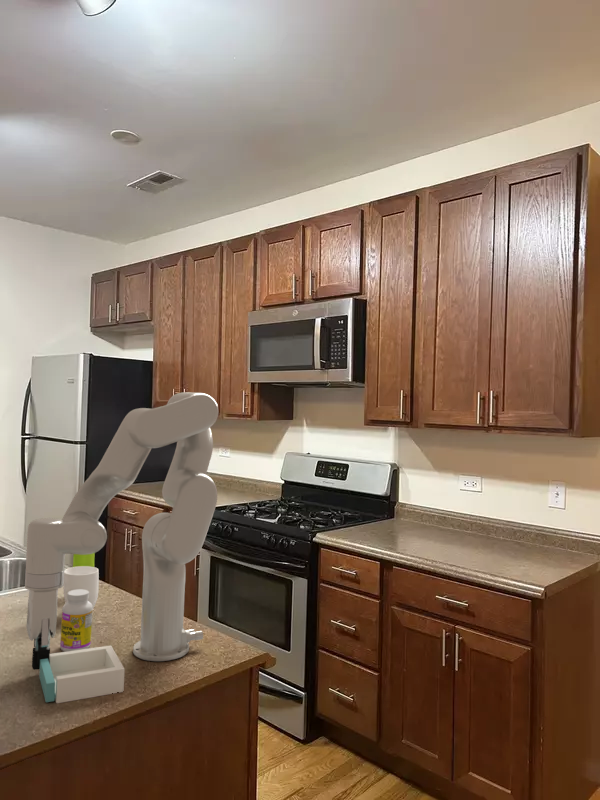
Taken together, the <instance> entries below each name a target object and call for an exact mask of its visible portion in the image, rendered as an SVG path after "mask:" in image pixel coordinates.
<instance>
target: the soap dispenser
mask: <svg viewBox="0 0 600 800" xmlns="http://www.w3.org/2000/svg"><path fill="white" fill-rule="evenodd" d="M95 554H96V552H95V553H93V554H87V555H80V554H72V555H73V556H72V559H73V560H72V567H78V566H90V567H95V559H96V558H95Z"/></svg>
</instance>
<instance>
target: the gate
mask: <svg viewBox="0 0 600 800" xmlns="http://www.w3.org/2000/svg"><path fill="white" fill-rule="evenodd" d="M38 674H39V675H38V676H39V681H40V686H41V689H42V692H43V696H44V701H45V703H49V702H54V701H55V680H54V677H53V674H52V670H51V667H50V664H49V660H48V659H41V660H40V669H39V673H38Z"/></svg>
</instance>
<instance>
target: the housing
mask: <svg viewBox="0 0 600 800" xmlns="http://www.w3.org/2000/svg"><path fill="white" fill-rule="evenodd" d="M49 664H50V667H51V670H52V674H53V677H54V680H55V697H54V701H55V703H56V704H60V703H66V702H72V701H77V700H84V699H90V698H95V697H101V696H106V695H113V694H118V693H117V692H119V693H124V692H123V691H124V689H125V667H124V665H123V663H122V661H121V660H120V658H119V655H117V653H116V652H115V650H114V648H113V646H112V645H111V644H110V645H104V646H99V647H98V646H96V647H89V648H88V649H81V650H74V651H67V652H65V651H62V652H54V653H50V654H49ZM112 693H113V694H112Z"/></svg>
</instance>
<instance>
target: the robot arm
mask: <svg viewBox="0 0 600 800" xmlns="http://www.w3.org/2000/svg"><path fill="white" fill-rule="evenodd" d="M218 417H219V405H218V403H217V402H216V400H215V398H213V397H212V396H211V395H209V394H207V393H204V392H192V391H191V392H190V391H187V392H180V393H179V392H178V393H176V394H173V395H172V396H171V397H170V398H169V399H168V401H167V403H166V404H165V405H163V406H162V405H161V406H158V407H153V408H149V407H148V408H146V407H140V408H135V409H132V410H130V411H129V412H128V413H126V415H125V417H124V418H123V419H122V421H121V423H120V425H119V426H118V429H117V431H116V432H115V434H114V435H113V438H112V440H111V442H110V444H109V446H108V448H106V450H105V452H104V455H103V456H102V458H101V460H100V462H99V464H98V465H97V466H96V468H95V469H94V470H93V471H92V472H91V474H90V475H89V476H88V478H87V479H86V480H85V481H84V482H83V484H81V486H80V487H79V489H78V490H77V492H76V493H75V495H74V497H73V498H72V500H71V502H70V504H69V506H67V507H68V508H67V509H66V511H65V513H64V515H63V517H62V519H60V518H55V517H44V518H43V517H42V518H37V519H34V520H32V521H30V522H29V524H28V526H27V533H26V534H27V536H26V537H27V539H26V556H25V557H26V559H25V560H26V561H25V576H24V577H25V578H24V580H25V581H24V589H25V590H27V591H28V601H27V612H26V613H27V616H26V624H25V626H26V632H27V636H28V639H29V640H30V641H31V642H32V641H33V647H32V658H31V659H32V661H31V666H32V670H34V671H36V670H38V671H39V670H40V660H41V659H48V660H49V654H51V647H50V646H51V645H50V644H51V639H54V637H55V636H56V631H57V619H58V598H59V596H58V595H59V589H61V588H64V570H65V568H66V567H65V565H66V555H68V554H69V555H73V554H80V555H87V554H93V553H95V554H96V553H97V552H99V551H100V550H101V549H103V548H104V546H105V545H106V542H107V539H108V535H107V534H108V533H107V529H106V527H105V526H104V525H103V524H102V522H100V521H99V519H100V517H101V515H102V514H103V511H104V510H105V509H106V507H107V505H108V504H109V503H110V501H112V499H113V498H115V496H117V495H118V494H120V492H122V491H124V490H126V489H127V488H129V487H130V486H131V485H133V483H134V482H135V480H136V479H137V478H138V475H139V473H140V471H141V469H142V468H143V465H144V463H145V462H146V461H147V458H148V457H149V455H150V452H151V450H152V449H158V448H163V447H165V446H169V445H171V444H174V443H176V447H175V451H174V454H173V456H172V460H171V463H170V466H169V469H168V471H167V474H166V477H165V479H164V482H163V485H162V489H161V493H162V494H161V495H162V500H164V502H165V504H166V505H168V506H170V507H171V508H172V510H171V512H159V513H156V514H153V515H152V516H151V517H150V518H149V519H148V520H147V521H146V522H145V524H144V526H143V529H142V533H141V534H142V535H141V542H142V543H141V546H142V548H141V549H142V561H143V575H142V576H143V577H142V579H143V580H142V598H141V619H140V621H141V622H140V623H141V624H140V640H139V641H137V642H136V643H134V645H133V647H132V650H133V651H132V653H133V655H134V656H135V657H137V658H139V659H141V660H143V661H147V662H150V661H151V662H165V661H167V662H168V661H172V660H173V661H174V660H176V659H179V658H182V657H184V656H185V655H186V654H188V652H189V651H190V644H189V643H190V642H191V641H200V640H203V639H204V632H203V630H199V631H197V630H196V631H195V629H194V628H192V629H185V628H184V613H185V593H186V591H185V588H186V564H188V563H190V562H191V561H193V560H194V559H195V558H196V557H197V556H198V555H199V553H200V551H201V550H202V547H203V545H204V542H205V541H206V538H207V533H208V531H209V527H210V526H211V522H212V519H213V517H214V513H215V510H216V507H217V503H218V490H217V485H216V484H215V481H214V480H213V479H212V478H211V477H210V476H209V475H208V474H207V473H208V471H209V470H208V469H209V466H210V463H211V459H212V455H213V449H214V439H213V433H212V429H211V428H212V426H213V425H214V424H215V423H216V421H217V419H218Z"/></svg>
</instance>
